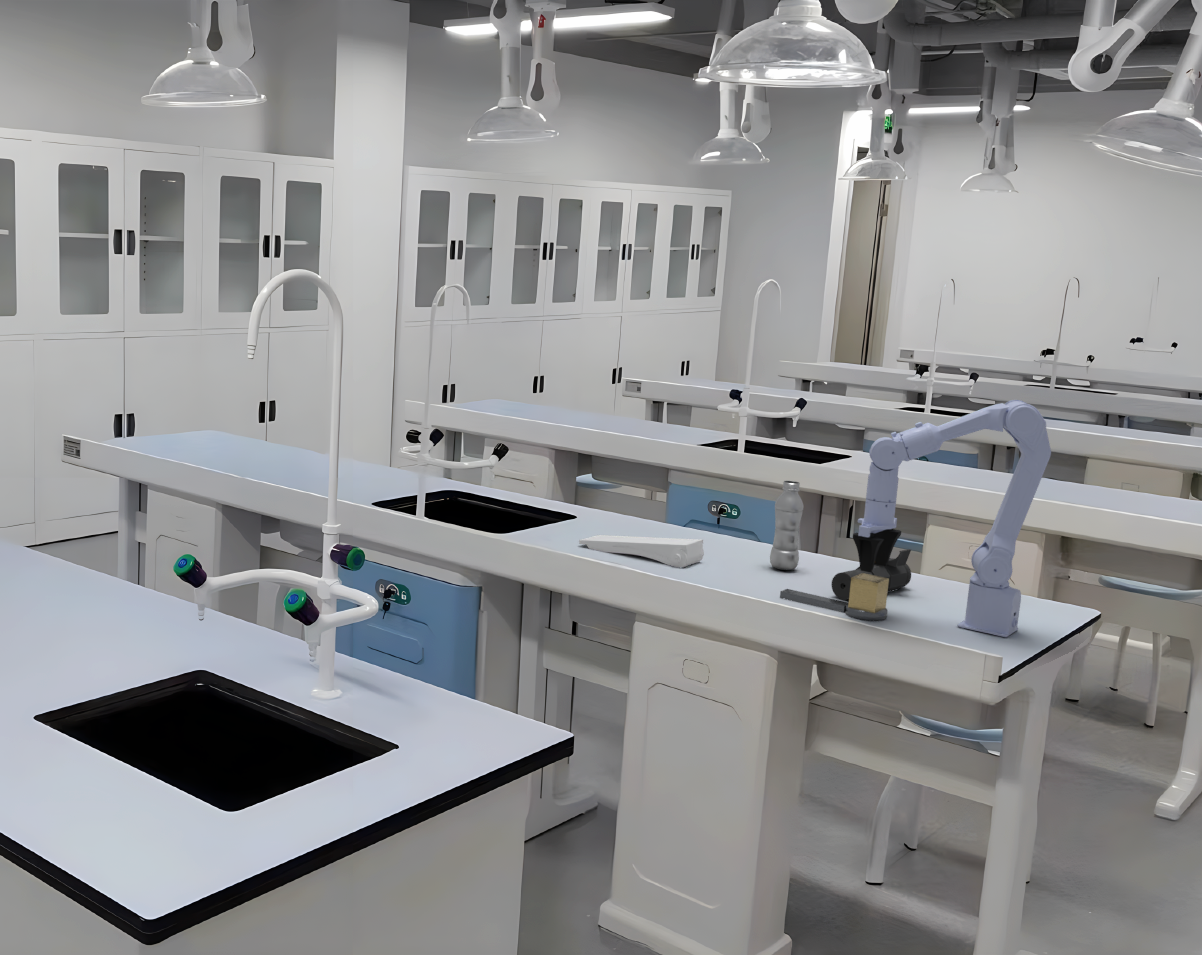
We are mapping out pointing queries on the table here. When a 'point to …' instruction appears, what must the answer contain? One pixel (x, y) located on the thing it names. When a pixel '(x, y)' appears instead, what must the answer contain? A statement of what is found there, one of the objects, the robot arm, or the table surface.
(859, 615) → the ratchet
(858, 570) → the laser sight
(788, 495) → the plastic bottle
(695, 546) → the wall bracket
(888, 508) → the robot arm
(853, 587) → the wood grain cube
